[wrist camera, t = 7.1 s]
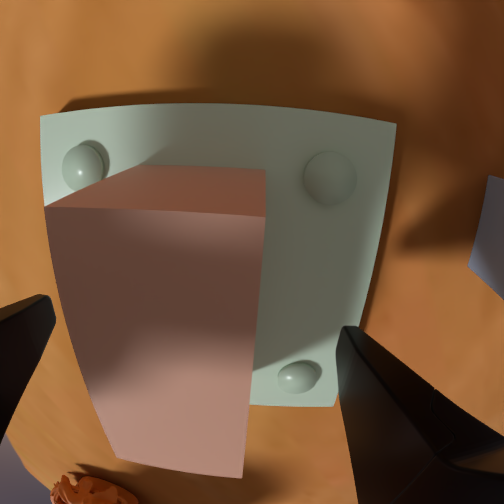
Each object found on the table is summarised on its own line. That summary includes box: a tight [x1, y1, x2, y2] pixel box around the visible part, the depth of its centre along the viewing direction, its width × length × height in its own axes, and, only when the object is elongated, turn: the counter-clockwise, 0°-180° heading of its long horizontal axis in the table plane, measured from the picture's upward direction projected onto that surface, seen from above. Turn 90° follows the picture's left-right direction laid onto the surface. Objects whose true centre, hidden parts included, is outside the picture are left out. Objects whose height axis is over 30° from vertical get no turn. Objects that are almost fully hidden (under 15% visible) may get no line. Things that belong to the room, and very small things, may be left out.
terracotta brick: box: [44, 165, 266, 478], centre depth 9 cm, size 8×4×5 cm, turn 176°
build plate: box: [40, 103, 397, 407], centre depth 11 cm, size 12×12×1 cm
